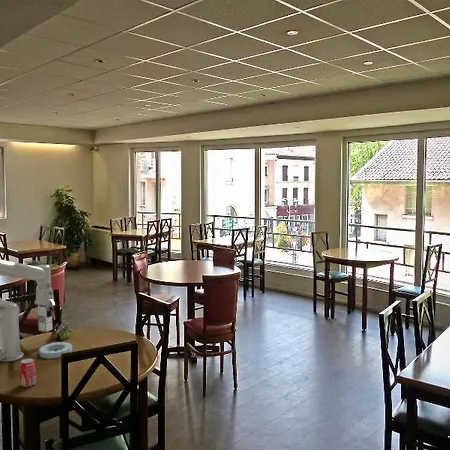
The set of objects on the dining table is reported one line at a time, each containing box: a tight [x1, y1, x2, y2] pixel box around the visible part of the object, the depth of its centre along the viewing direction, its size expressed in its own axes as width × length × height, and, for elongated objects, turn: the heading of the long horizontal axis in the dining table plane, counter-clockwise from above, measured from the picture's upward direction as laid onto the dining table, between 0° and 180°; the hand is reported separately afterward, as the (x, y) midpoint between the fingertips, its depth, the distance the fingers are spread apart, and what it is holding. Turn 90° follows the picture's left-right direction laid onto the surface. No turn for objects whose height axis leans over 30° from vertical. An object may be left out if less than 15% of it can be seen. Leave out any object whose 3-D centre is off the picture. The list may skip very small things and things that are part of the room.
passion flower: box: [53, 321, 74, 341], centre depth 296 cm, size 11×11×12 cm
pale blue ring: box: [38, 341, 73, 360], centre depth 270 cm, size 17×17×3 cm
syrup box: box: [37, 305, 53, 333], centre depth 281 cm, size 6×6×14 cm
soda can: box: [19, 357, 37, 388], centre depth 229 cm, size 7×7×12 cm
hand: (45, 315), depth 281 cm, fingers closed on syrup box, 6 cm apart
